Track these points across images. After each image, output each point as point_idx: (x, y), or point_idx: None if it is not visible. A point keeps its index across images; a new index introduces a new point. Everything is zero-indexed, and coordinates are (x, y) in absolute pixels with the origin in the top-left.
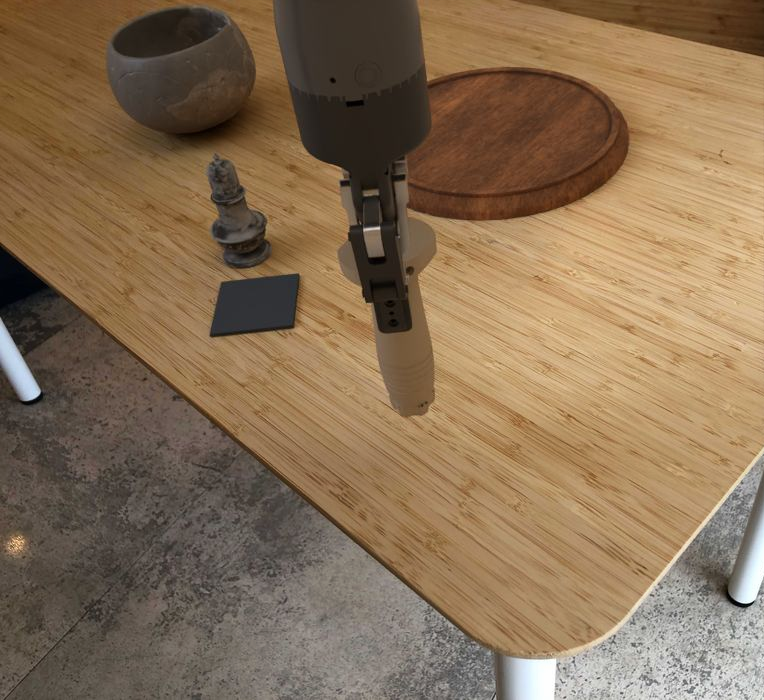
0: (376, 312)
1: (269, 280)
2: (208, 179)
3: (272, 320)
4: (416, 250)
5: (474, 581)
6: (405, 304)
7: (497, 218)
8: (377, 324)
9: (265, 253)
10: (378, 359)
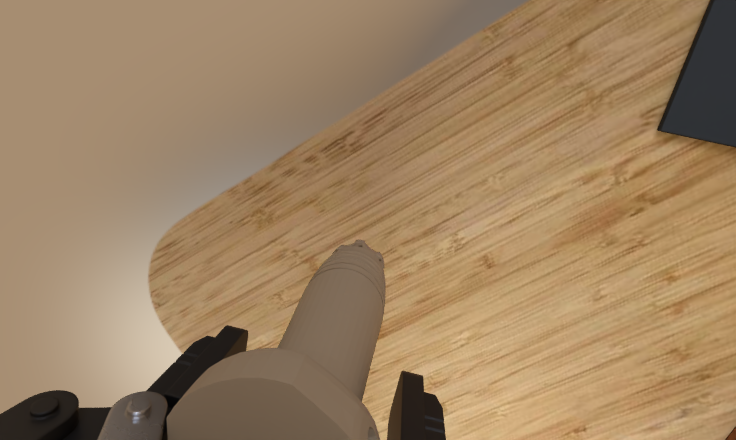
0: (202, 353)
1: None
2: None
3: (689, 101)
4: None
5: (215, 238)
6: None
7: (730, 436)
8: (219, 333)
9: None
10: (337, 267)
